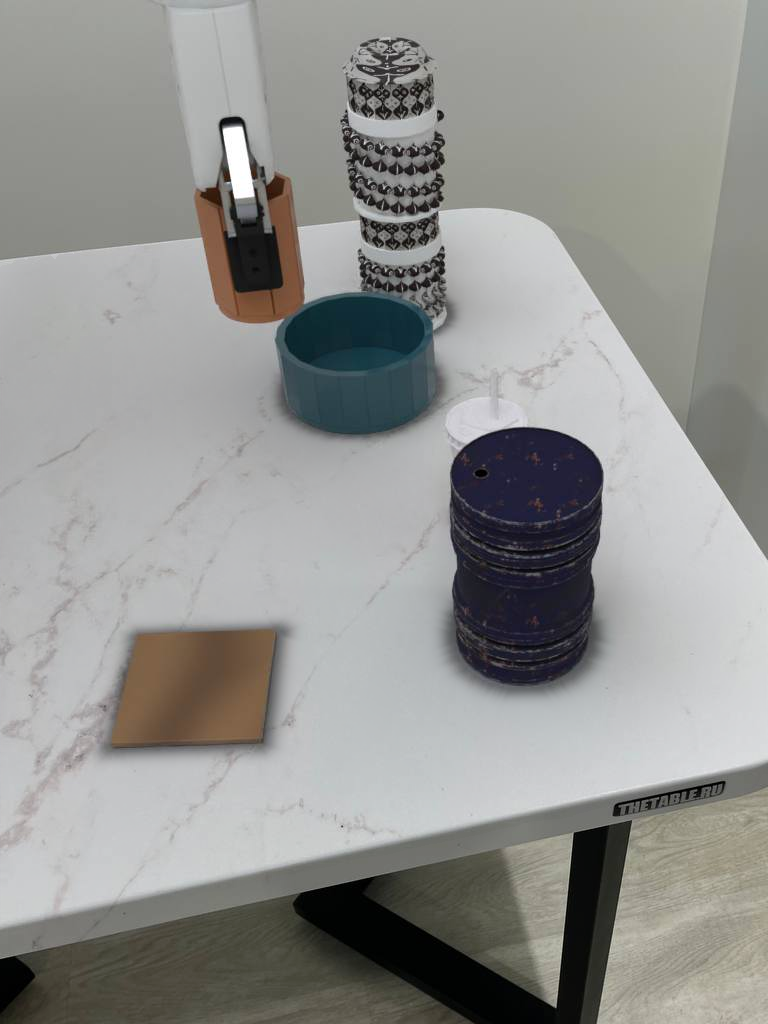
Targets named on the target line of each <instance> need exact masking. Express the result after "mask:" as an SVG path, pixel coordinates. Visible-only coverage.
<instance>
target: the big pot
mask: <svg viewBox="0 0 768 1024" xmlns="http://www.w3.org/2000/svg"><path fill="white" fill-rule="evenodd" d="M434 334H435V333H434V331H433V323H432V321H431V320H430V318H429V316H428V315H427V313H426V312H425V311H424V310H422V309H421V308H420V307H418V306H417V305H415V304H414V303H412V302H411V301H408V300H405V299H402V298H399V297H397V296H394V295H388V294H381V293H374V292H361V291H347V292H340V293H336V294H335V293H334V294H330V295H326V296H325V295H324V296H321V297H319V298H316V299H313V300H311V301H308V302H306V303H305V302H304V303H303V306H302V307H301V308H300V309H299V310H298V311H297V312H296V313H294V314H293V315H291V316H289V317H287V318H284V319H282V321H281V322H280V324H279V325H278V326H277V328H276V333H275V339H274V343H275V349H276V354H277V361H278V367H279V371H280V372H279V373H280V378H281V383H282V388H283V389H282V390H283V394H284V396H285V400H286V401H285V402H286V404H287V407H288V408H289V410H290V412H291V413H292V414H293V415H294V416H295V417H296V418H297V419H299V420H300V421H302V422H303V423H305V424H307V425H309V426H310V427H313V428H315V429H318V430H321V431H326V432H330V433H334V434H343V435H364V434H372V433H373V434H374V433H380V432H384V431H388V430H391V429H394V428H397V427H400V426H403V425H404V424H407V423H409V422H410V421H412V420H414V419H416V418H417V417H418V416H420V415H421V414H422V413H423V412H425V411H426V410H427V408H428V407H429V406H430V405H431V403H432V401H433V399H434V398H435V394H436V389H437V388H436V387H437V384H436V381H437V380H436V379H437V378H436V356H435V335H434Z"/></svg>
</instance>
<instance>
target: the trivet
mask: <svg viewBox="0 0 768 1024" xmlns="http://www.w3.org/2000/svg"><path fill="white" fill-rule="evenodd" d="M276 635H277V632H276V628H270V629H269V628H267V629H242V630H241V629H239V630H238V629H237V630H210V631H209V630H208V631H205V630H203V631H179V632H178V631H177V632H175V631H174V632H151V633H150V632H148V633H147V632H145V633H137V634H136V639H135V642H134V645H133V650H132V654H131V658H130V662H129V666H128V670H127V673H126V678H125V682H124V686H123V690H122V695H121V697H120V698H121V699H120V701H119V706H118V710H117V714H116V718H115V722H114V726H113V730H112V734H111V737H110V738H111V739H110V742H109V743H110V744H109V745H110V747H111V748H112V749H113V748H114V749H115V748H140V747H142V748H143V747H145V748H146V747H168V746H169V747H171V746H196V745H197V746H199V745H201V746H203V745H226V744H255V743H262V742H263V736H264V730H265V729H264V728H265V722H266V714H267V713H266V712H267V706H268V705H267V704H268V698H269V691H270V690H269V689H270V681H271V674H272V668H273V659H274V653H275V652H274V651H275V644H276Z"/></svg>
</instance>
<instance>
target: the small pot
mask: <svg viewBox="0 0 768 1024" xmlns="http://www.w3.org/2000/svg"><path fill="white" fill-rule="evenodd" d="M250 170H251V176H252V179H257V173H256V168H254V169H250ZM223 175H224V181H225V182H227V181H231V176H230V171H223ZM264 181H265V180H264ZM265 189H266V195H267V202H268V208H269V214H270V220H271V226H275V229H276V236H277V242H278V249H279V256H280V263H281V269H282V276H283V286H282V287H281V288H279V289H270V290H262V291H253V292H245V293H238V292H237V291H235V289H234V284H233V279H232V274H231V268H230V263H229V258H228V252H227V247H226V242H225V236H224V231H227V226H226V220H225V215H224V209H223V203H222V198H221V192H220V190H219V181H218V180H217V184H216V187H212V188H206V190H207V191H206V192H203V191H201V190H200V189H198V188H197V187H196V189H195V192H194V196H193V199H194V205H195V210H196V215H197V219H198V224H199V229H200V234H201V238H202V245H203V249H204V254H205V259H206V264H207V268H208V274H209V279H210V283H211V288H212V294H213V299H214V303H215V304H216V305H217V306H218V309H219V311H220V312H221V313H222V315H223V316H225V317H226V318H228V319H230V320H231V321H234V322H237V323H238V322H239V323H243V324H250V325H251V324H252V325H253V324H255V325H260V324H270V323H275V322H278V321H281V320H282V321H283V320H284V319H285V318H287V317H289V316H291V315H293V314H294V313H296V312H297V311H298V310H299V309H300V308H301V307H302V306H303V304H305V300H306V295H305V283H306V282H305V277H304V276H305V275H304V268H303V259H302V254H301V246H300V238H299V230H298V222H297V215H296V209H295V201H294V193H293V186H292V179H291V177H289V176H285V174H284V175H283V174H282V173H279V172H278V171H275V170H274V178H273V180H272V181H271V182H270V183H269V184H268V185H266V182H265ZM254 193H255V199H256V201H259V200H258V194H257V189H256V190H254ZM229 195H230V200H231V206H232V203H235V199H234V194H233V192H229Z"/></svg>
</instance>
